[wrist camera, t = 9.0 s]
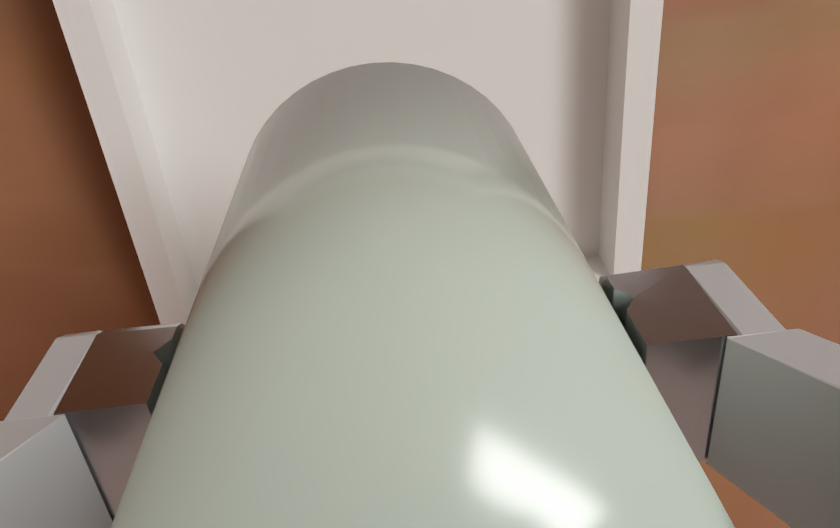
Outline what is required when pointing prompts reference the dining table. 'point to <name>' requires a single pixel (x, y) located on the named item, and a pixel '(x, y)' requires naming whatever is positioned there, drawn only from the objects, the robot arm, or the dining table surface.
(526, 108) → the grey tray
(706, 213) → the dining table surface
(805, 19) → the dining table surface
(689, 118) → the dining table surface
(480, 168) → the sage cup
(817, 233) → the dining table surface
